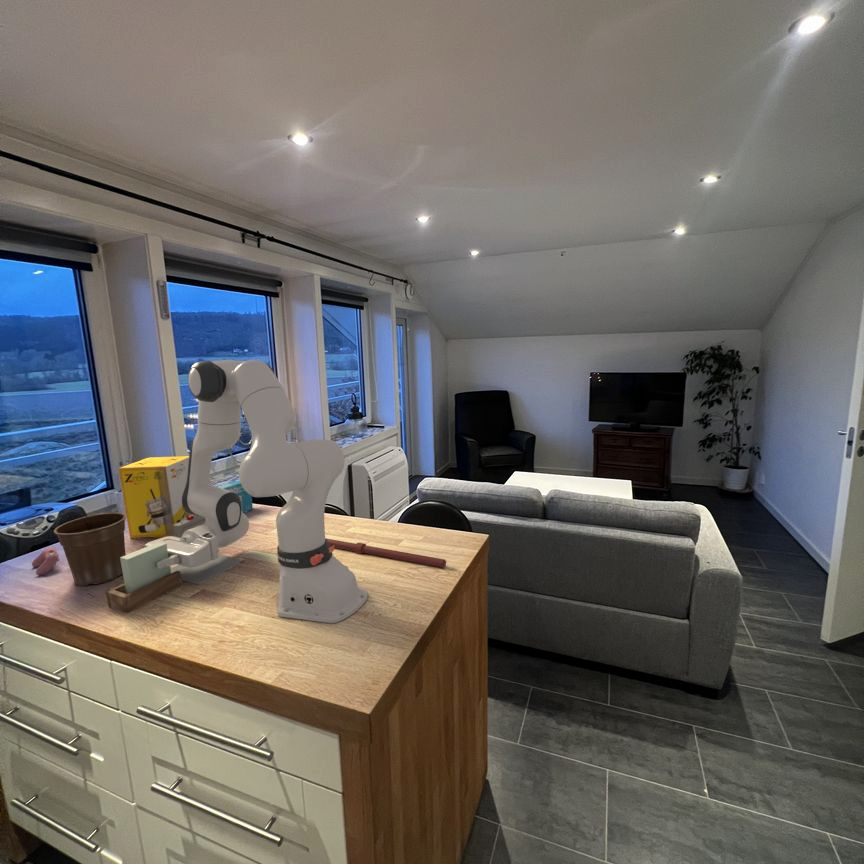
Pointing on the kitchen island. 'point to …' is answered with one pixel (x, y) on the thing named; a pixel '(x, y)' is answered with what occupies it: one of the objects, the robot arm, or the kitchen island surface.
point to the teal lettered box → (240, 494)
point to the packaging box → (154, 495)
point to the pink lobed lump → (46, 560)
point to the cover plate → (144, 566)
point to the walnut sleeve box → (142, 593)
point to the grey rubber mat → (206, 569)
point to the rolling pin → (387, 553)
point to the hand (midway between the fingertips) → (148, 563)
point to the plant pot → (94, 547)
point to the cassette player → (187, 525)
